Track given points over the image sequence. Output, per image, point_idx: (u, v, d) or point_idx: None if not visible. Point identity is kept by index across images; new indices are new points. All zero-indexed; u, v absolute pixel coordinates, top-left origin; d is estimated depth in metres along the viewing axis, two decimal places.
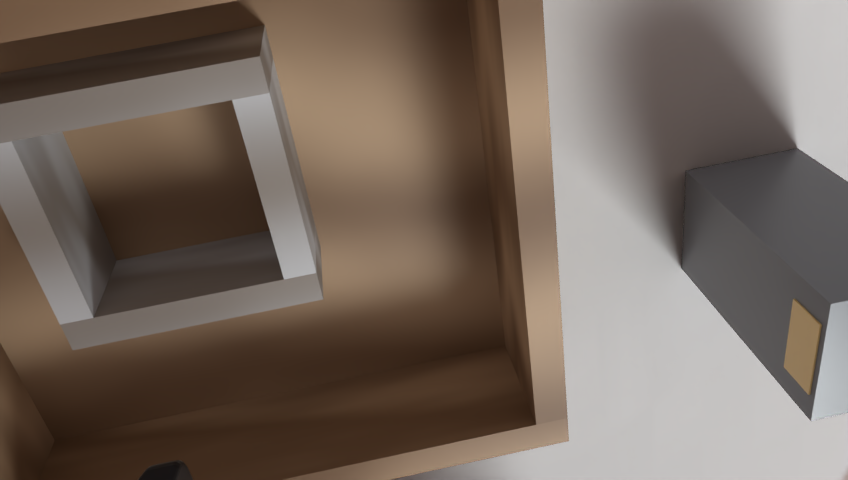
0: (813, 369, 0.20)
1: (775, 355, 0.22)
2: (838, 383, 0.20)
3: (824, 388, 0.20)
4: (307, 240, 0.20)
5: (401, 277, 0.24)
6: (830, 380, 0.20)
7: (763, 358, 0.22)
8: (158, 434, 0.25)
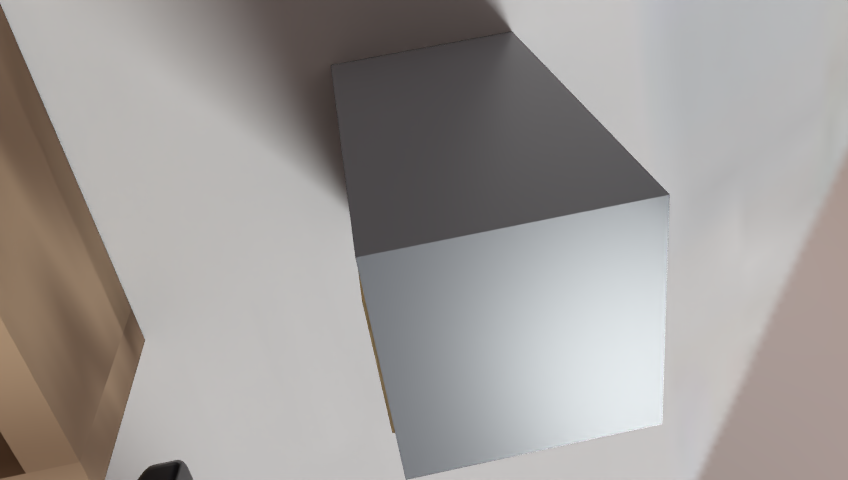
0: (384, 386, 0.10)
1: None
2: (434, 412, 0.11)
3: (409, 422, 0.11)
4: None
5: None
6: (416, 407, 0.10)
7: None
8: None
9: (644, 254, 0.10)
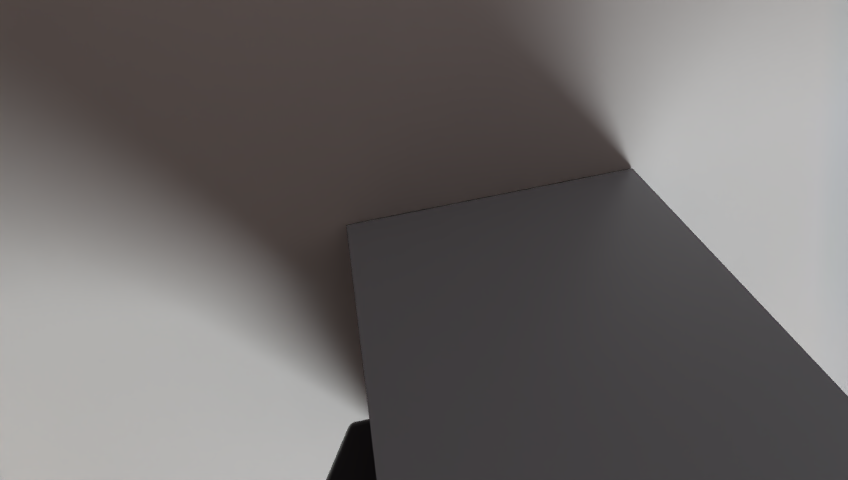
0: None
1: None
2: None
3: None
4: None
5: None
6: None
7: None
8: None
9: None
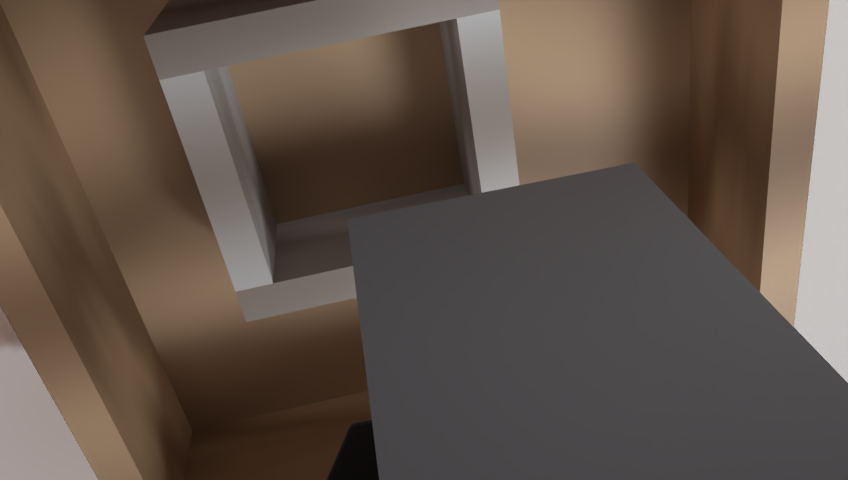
0: None
1: None
2: None
3: None
4: None
5: None
6: None
7: None
8: (310, 421, 0.23)
9: None
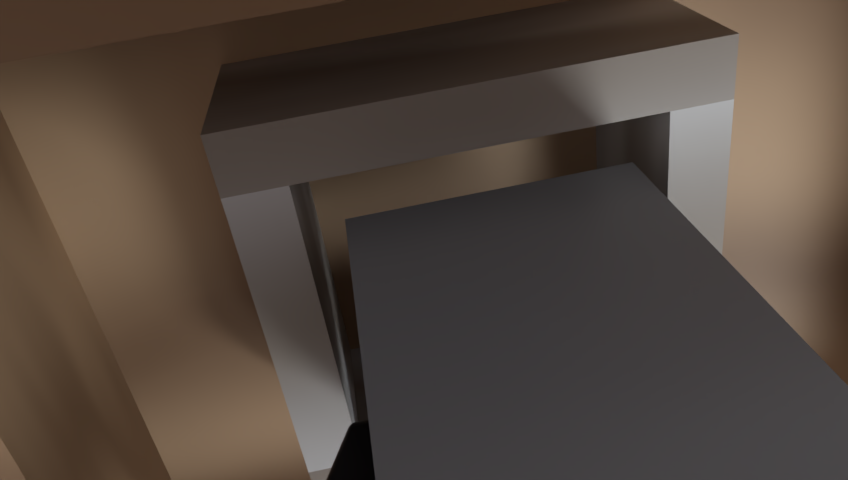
0: None
1: None
2: None
3: None
4: None
5: None
6: None
7: None
8: None
9: None
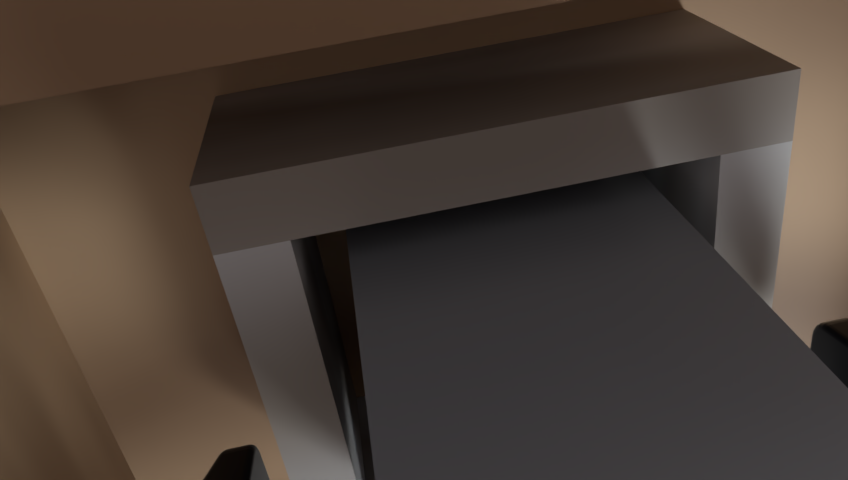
0: None
1: None
2: None
3: None
4: None
5: None
6: None
7: None
8: None
9: None
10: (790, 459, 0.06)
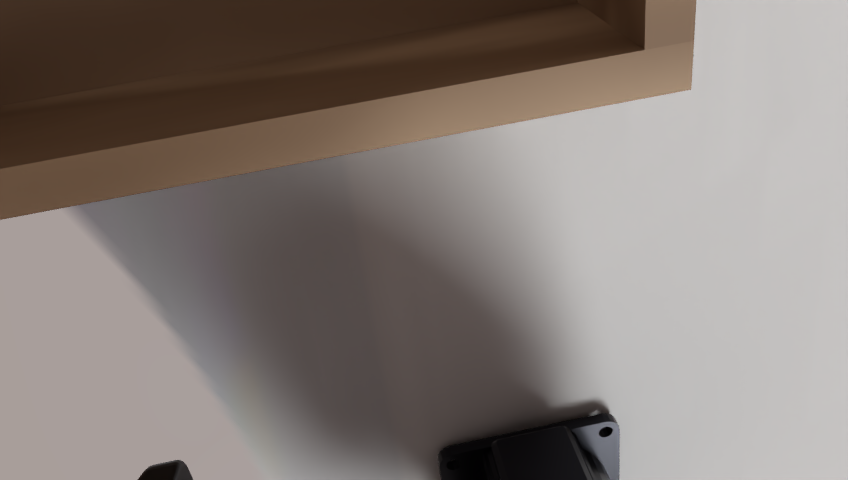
0: None
1: None
2: None
3: None
4: None
5: None
6: None
7: None
8: (53, 107, 0.16)
9: None
10: None
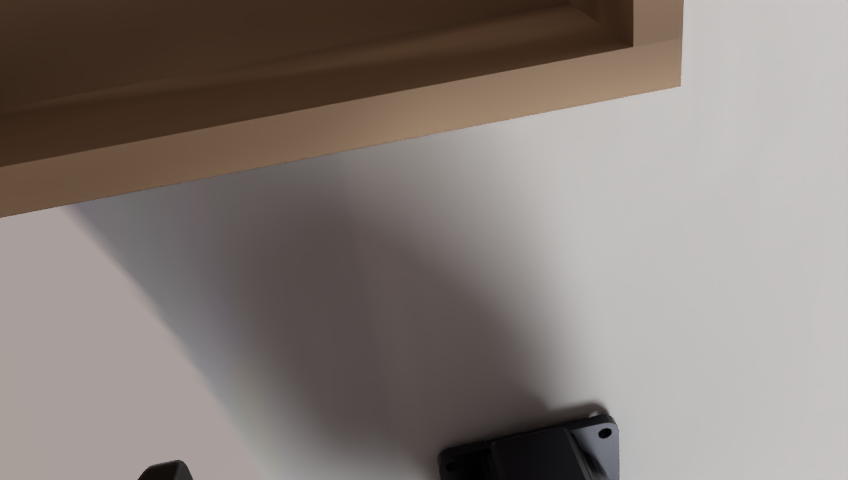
0: None
1: None
2: None
3: None
4: None
5: None
6: None
7: None
8: (52, 108, 0.17)
9: None
10: None
